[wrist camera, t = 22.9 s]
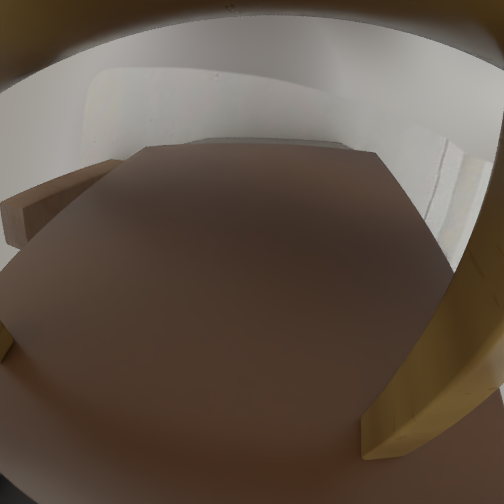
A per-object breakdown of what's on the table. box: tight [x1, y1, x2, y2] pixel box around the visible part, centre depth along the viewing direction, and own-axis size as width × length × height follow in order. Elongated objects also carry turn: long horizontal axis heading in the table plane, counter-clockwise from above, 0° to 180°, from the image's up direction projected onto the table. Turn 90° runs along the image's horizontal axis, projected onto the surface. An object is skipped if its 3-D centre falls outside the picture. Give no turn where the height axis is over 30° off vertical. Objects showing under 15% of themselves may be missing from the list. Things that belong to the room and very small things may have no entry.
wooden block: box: [0, 159, 124, 250], centre depth 21 cm, size 7×3×15 cm, turn 171°
